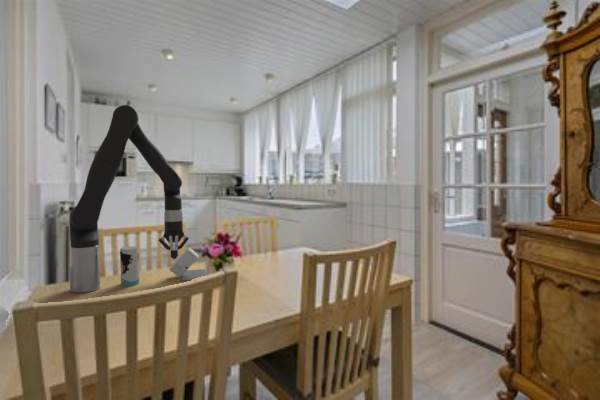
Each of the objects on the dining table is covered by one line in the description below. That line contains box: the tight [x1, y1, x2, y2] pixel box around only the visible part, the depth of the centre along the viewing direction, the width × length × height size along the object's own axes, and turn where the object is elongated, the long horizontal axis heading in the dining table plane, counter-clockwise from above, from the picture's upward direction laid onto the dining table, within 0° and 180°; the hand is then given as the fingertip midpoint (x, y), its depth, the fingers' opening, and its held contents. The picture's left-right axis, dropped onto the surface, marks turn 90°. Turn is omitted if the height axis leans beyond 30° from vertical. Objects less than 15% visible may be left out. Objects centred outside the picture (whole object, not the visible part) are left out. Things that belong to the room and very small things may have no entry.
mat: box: [180, 268, 207, 282], centre depth 150 cm, size 12×16×1 cm
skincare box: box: [169, 247, 200, 278], centre depth 147 cm, size 6×4×12 cm
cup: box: [119, 245, 140, 287], centre depth 137 cm, size 7×7×15 cm
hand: (174, 258), depth 147 cm, fingers closed
